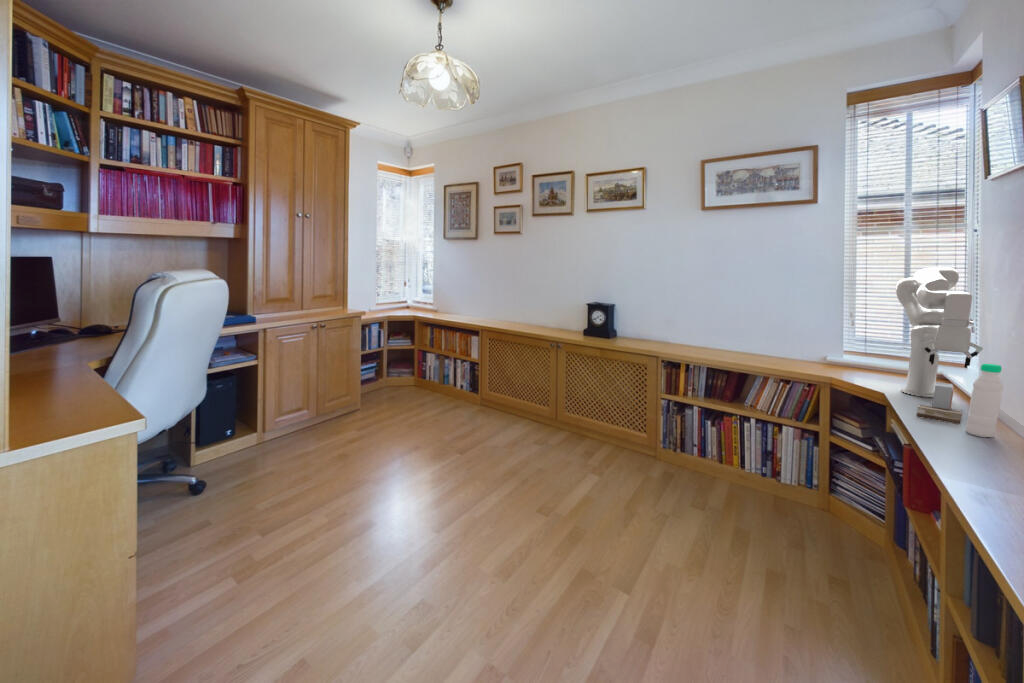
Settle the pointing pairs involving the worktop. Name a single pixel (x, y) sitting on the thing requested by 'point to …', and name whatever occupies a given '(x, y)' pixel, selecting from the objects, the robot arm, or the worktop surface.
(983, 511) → the worktop surface
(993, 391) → the milk bottle
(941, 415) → the shelf board
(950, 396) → the tea carton
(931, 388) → the robot arm
